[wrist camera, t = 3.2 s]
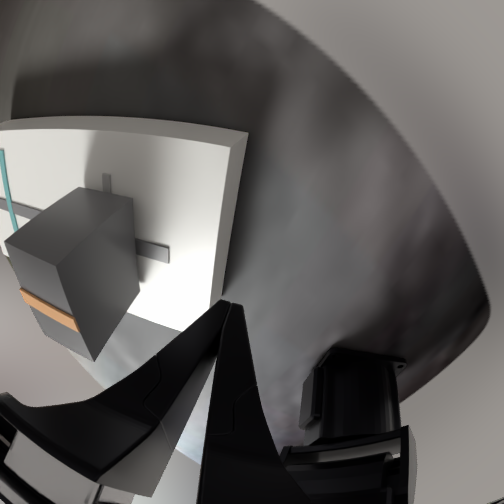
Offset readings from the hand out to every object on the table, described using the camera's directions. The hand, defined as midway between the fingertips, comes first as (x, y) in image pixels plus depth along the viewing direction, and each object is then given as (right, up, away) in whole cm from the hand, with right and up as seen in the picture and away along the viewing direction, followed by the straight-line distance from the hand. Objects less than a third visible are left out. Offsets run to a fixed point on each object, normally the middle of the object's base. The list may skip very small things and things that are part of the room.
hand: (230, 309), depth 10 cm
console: (-9, +5, +5) cm, 11 cm away
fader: (-6, +3, +2) cm, 6 cm away
